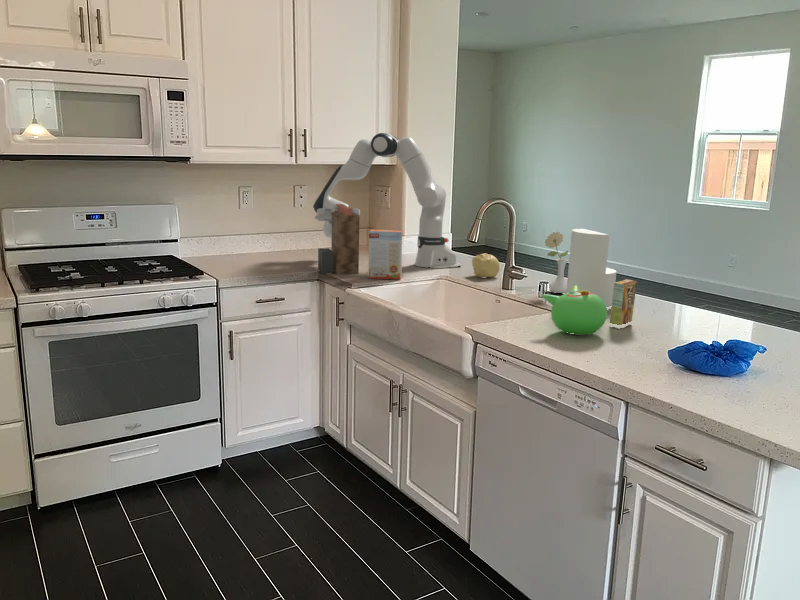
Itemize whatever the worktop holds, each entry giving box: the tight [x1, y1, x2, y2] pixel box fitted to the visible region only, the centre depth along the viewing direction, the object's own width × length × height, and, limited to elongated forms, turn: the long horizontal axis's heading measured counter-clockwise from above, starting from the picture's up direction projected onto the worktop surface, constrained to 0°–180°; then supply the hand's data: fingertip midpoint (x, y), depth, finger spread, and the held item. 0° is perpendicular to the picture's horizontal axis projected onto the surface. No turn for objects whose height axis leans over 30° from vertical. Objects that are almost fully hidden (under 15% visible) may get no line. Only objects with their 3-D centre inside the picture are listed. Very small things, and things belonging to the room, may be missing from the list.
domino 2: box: [318, 249, 331, 273], centre depth 301 cm, size 5×2×10 cm, turn 107°
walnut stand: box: [330, 212, 361, 275], centre depth 303 cm, size 10×12×26 cm
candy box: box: [609, 278, 638, 325], centre depth 224 cm, size 9×4×15 cm, turn 137°
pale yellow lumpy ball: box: [471, 252, 500, 278], centre depth 302 cm, size 12×12×11 cm
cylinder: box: [566, 228, 617, 307], centre depth 251 cm, size 17×17×28 cm
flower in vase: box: [544, 231, 569, 293], centre depth 271 cm, size 13×11×25 cm
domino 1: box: [317, 247, 331, 270], centre depth 305 cm, size 5×2×10 cm, turn 107°
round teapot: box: [541, 285, 608, 335], centre depth 213 cm, size 18×17×15 cm
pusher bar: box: [336, 204, 352, 215], centre depth 303 cm, size 3×20×3 cm, turn 17°
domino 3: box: [320, 251, 334, 275], centre depth 298 cm, size 5×2×10 cm, turn 107°
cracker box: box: [368, 229, 403, 281], centre depth 290 cm, size 14×6×21 cm, turn 84°
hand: (341, 207), depth 308 cm, fingers closed on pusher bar, 3 cm apart
